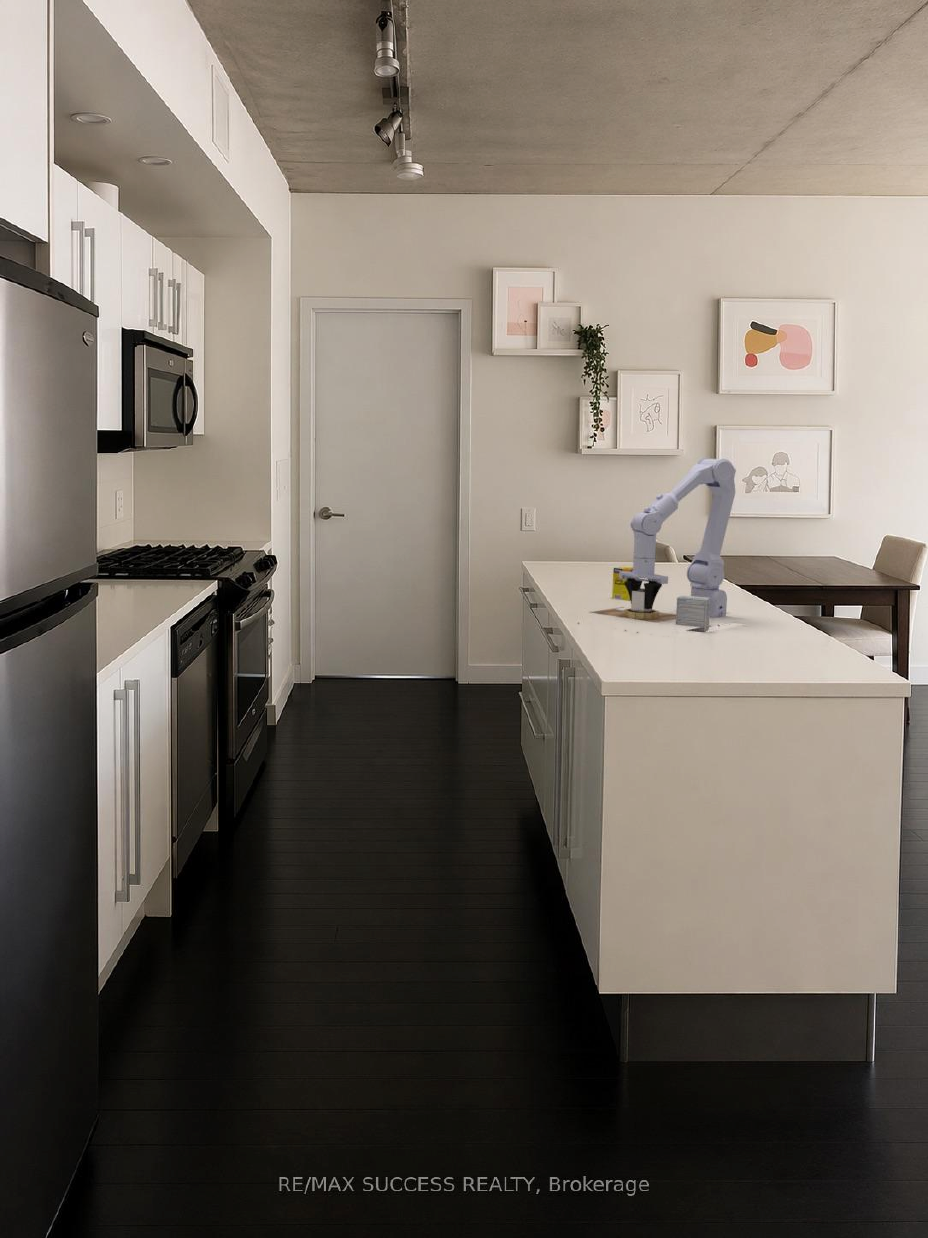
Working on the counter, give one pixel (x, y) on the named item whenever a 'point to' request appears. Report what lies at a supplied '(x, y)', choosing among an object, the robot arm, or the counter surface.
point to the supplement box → (620, 584)
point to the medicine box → (693, 612)
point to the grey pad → (622, 609)
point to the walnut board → (621, 614)
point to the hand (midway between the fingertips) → (641, 607)
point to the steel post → (639, 601)
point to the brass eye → (641, 614)
